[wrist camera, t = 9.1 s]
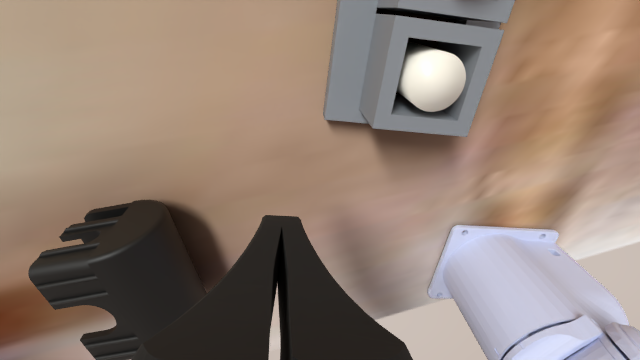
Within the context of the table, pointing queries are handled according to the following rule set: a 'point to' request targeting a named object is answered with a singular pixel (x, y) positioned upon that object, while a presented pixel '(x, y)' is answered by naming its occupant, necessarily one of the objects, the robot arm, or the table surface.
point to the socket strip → (388, 54)
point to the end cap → (122, 274)
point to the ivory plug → (430, 77)
